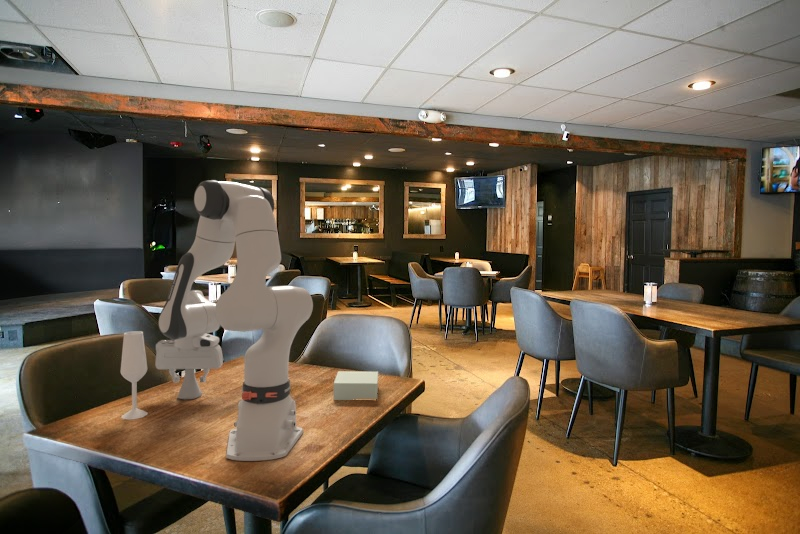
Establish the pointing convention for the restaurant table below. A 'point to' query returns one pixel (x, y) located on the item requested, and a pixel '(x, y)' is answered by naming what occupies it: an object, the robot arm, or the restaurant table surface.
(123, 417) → the champagne flute
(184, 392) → the flask
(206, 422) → the restaurant table surface
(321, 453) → the restaurant table surface
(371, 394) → the sage block
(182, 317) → the robot arm
